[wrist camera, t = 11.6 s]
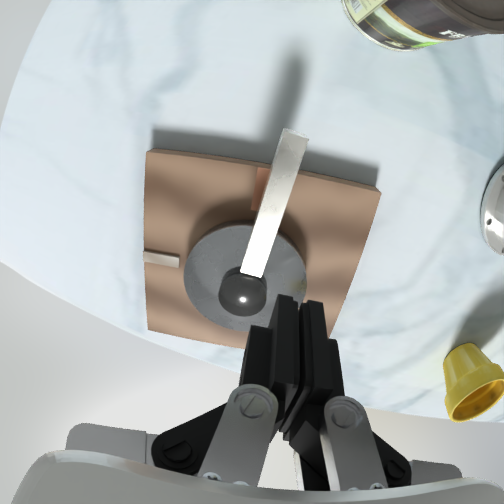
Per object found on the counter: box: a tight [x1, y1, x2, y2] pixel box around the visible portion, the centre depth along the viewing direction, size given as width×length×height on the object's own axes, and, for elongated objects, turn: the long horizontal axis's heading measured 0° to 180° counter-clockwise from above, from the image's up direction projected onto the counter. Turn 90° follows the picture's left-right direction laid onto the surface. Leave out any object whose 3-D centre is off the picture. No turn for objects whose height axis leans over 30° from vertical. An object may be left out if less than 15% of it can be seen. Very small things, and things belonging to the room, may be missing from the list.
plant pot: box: [443, 343, 504, 422], centre depth 35 cm, size 10×10×10 cm
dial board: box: [143, 148, 381, 349], centre depth 33 cm, size 22×22×2 cm
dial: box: [183, 128, 309, 332], centre depth 27 cm, size 21×12×4 cm, turn 164°
